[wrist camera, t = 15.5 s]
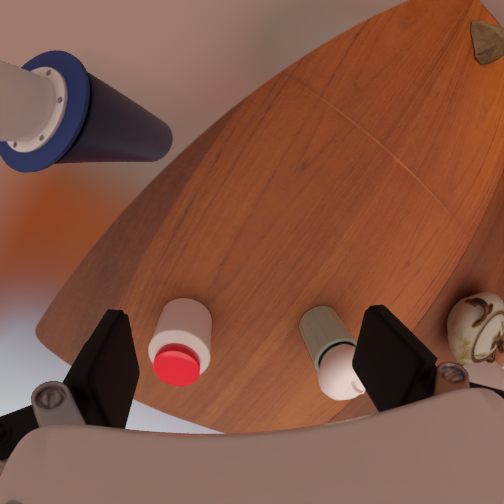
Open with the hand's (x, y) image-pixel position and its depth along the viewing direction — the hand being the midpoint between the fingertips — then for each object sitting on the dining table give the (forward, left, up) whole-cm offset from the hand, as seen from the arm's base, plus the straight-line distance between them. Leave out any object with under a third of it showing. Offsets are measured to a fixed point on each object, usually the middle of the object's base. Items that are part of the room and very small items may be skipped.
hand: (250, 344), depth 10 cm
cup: (+13, -16, -27) cm, 34 cm away
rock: (+46, +39, -28) cm, 66 cm away
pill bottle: (-7, -15, -28) cm, 32 cm away
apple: (+13, -16, -19) cm, 28 cm away
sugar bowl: (+46, -18, -28) cm, 57 cm away
